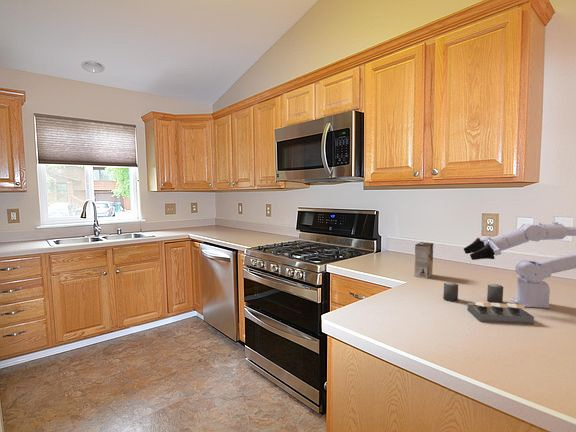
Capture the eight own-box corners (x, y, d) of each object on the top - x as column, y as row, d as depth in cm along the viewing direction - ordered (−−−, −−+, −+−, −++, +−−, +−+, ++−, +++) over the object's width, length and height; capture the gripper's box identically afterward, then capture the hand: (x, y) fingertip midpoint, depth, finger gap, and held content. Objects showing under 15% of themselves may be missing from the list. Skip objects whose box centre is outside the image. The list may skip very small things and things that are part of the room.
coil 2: (498, 299, 128) (499, 283, 127) (505, 304, 123) (506, 287, 122) (484, 299, 128) (485, 283, 128) (490, 303, 123) (491, 287, 123)
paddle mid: (491, 305, 113) (491, 302, 113) (498, 305, 113) (498, 302, 113) (500, 307, 107) (499, 303, 108) (507, 307, 107) (507, 304, 107)
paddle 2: (506, 306, 113) (506, 303, 113) (514, 306, 112) (514, 303, 112) (516, 308, 107) (516, 304, 107) (524, 308, 106) (524, 304, 107)
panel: (516, 312, 114) (516, 303, 114) (533, 324, 105) (534, 314, 104) (467, 310, 117) (467, 301, 116) (479, 321, 107) (480, 311, 106)
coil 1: (454, 297, 130) (455, 282, 129) (459, 302, 125) (460, 285, 124) (441, 297, 131) (442, 281, 130) (445, 301, 126) (446, 285, 125)
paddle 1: (475, 304, 114) (475, 301, 114) (483, 305, 114) (483, 301, 114) (483, 306, 108) (483, 302, 108) (491, 306, 108) (491, 303, 108)
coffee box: (419, 272, 168) (420, 241, 167) (432, 274, 164) (433, 243, 163) (413, 276, 161) (415, 244, 159) (427, 278, 157) (428, 245, 155)
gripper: (493, 227, 130) (458, 239, 133) (509, 236, 116) (470, 250, 120) (499, 243, 131) (464, 255, 134) (516, 254, 117) (477, 267, 120)
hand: (467, 254), depth 127 cm, fingers open, 7 cm apart
